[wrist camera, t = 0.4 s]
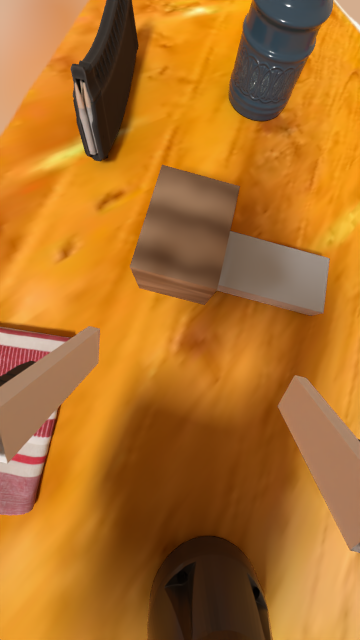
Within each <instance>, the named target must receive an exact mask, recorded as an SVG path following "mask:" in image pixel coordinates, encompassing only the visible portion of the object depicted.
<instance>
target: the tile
mask: <svg viewBox="0 0 360 640" xmlns="http://www.w3.org/2000/svg"><path fill="white" fill-rule="evenodd" d="M329 259H330V258H326V257H323V256H319V255H315V254H312V253H308V252H305V251H301V250H297V249H294V248H290V247H287V246H283V245H279V244H276V243H272V242H269V241H265V240H261V239H258V238H254V237H251V236H247V235H243V234H240V233H236V232H232V231H230V234H229V239H228V243H227V248H226V252H225V257H224V262H223V266H222V271H221V275H220V280H219V284H218V289H217V291H220V292H224V293H228V294H232V295H235V296H239V297H243V298H247V299H250V300H254V301H258V302H262V303H265V304H269V305H273V306H276V307H280V308H284V309H288V310H291V311H295V312H299V313H303V314H306V315H310V316H313V315H317V314H321V313H323V312H324V303H325V294H326V285H327V277H328V268H329Z"/></svg>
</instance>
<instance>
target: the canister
mask: <svg viewBox="0 0 360 640" xmlns="http://www.w3.org/2000/svg"><path fill="white" fill-rule="evenodd" d="M332 8H333V0H252V3H251V7H250V10H249V13H248V14H247V15H246V17H245V19H244V22H243V31H242V36H241V40H240V44H239V48H238V53H237V57H236V61H235V65H234V69H233V71H232V74H231V79H230V84H229V99H230V102H231V104H232V106H233V107H234V108H235V110H236V111H237V112H239V113H240V114H241V115H243V116H245V117H247V118H249V119H252V120H257V121H266V120H270V119H273V118H275V117H277V116H278V115H279V114H280V113H281V112H282V110H283V108H284V107H285V106H286V104H287V102H288V100H289V98H290V96H291V94H292V90H293V88H294V86H295V84H296V82H297V80H298V78H299V76H300V74H301V71H302V69H303V67H304V65H305V63H306V61H307V59H308V57H309V55H310V54H311V53H312V51H313V49H314V47H315V43H316V36H317V34H318V31H319V29H320V27H321V25H322V24H323V23H324V22H325V21H326V20H327V19H328V17H329V16H330V14H331V12H332Z"/></svg>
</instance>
